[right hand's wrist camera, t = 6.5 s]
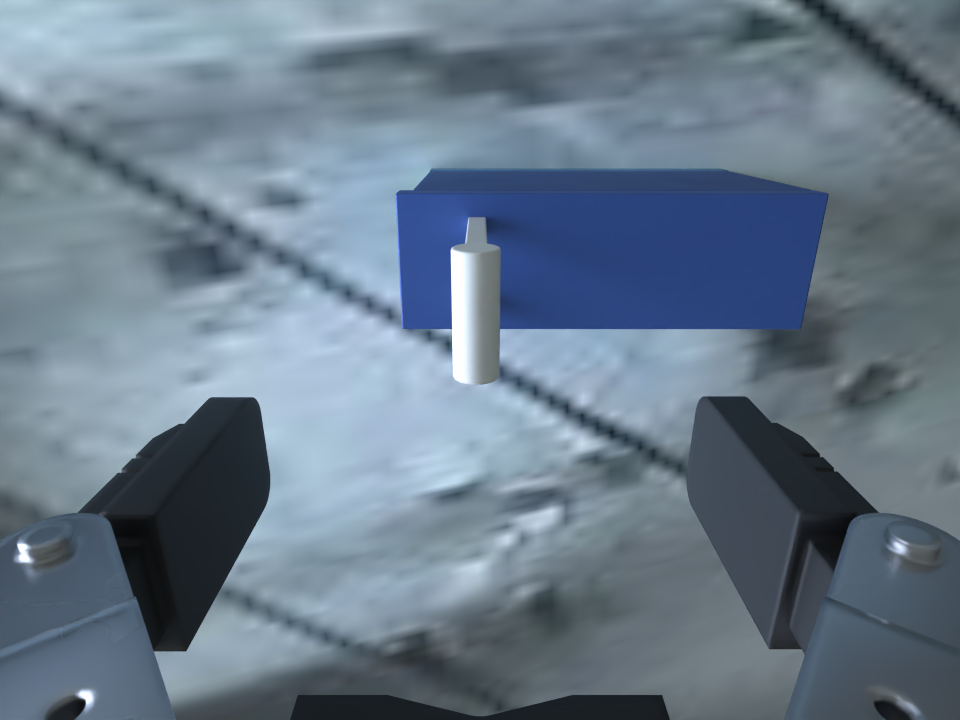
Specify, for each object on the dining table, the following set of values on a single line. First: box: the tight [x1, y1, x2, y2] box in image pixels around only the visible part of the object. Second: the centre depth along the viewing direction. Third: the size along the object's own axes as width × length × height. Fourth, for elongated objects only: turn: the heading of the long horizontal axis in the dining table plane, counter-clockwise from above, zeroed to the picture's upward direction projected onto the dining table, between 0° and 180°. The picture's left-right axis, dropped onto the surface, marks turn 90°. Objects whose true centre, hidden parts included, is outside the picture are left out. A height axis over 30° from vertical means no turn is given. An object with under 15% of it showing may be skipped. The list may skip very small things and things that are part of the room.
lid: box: [396, 190, 828, 385], centre depth 22 cm, size 17×6×9 cm, turn 90°
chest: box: [414, 169, 812, 191], centre depth 31 cm, size 16×6×11 cm, turn 90°
